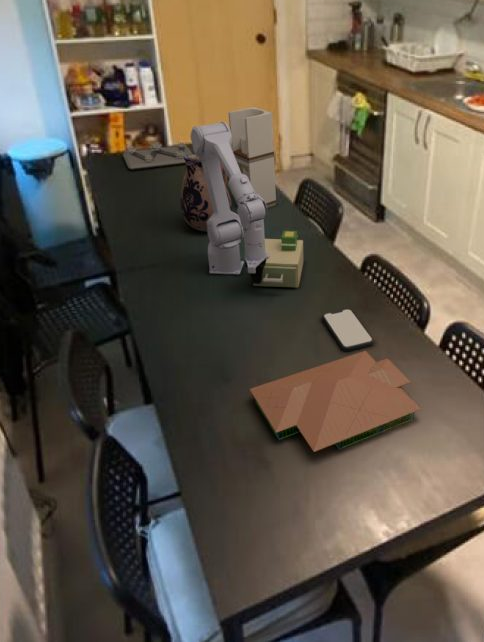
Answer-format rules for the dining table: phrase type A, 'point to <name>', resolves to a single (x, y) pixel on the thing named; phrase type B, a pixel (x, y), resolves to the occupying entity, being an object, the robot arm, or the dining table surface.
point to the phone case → (347, 330)
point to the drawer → (278, 276)
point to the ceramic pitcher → (197, 194)
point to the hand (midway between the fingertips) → (257, 282)
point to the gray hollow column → (255, 149)
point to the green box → (289, 240)
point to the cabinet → (284, 256)
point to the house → (336, 400)
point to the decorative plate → (156, 156)
